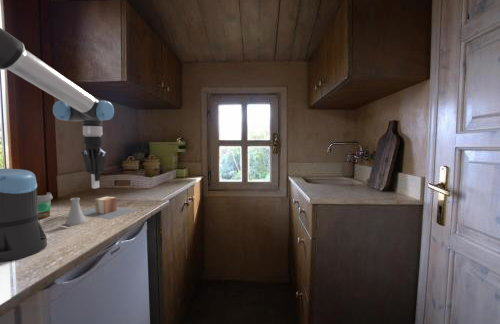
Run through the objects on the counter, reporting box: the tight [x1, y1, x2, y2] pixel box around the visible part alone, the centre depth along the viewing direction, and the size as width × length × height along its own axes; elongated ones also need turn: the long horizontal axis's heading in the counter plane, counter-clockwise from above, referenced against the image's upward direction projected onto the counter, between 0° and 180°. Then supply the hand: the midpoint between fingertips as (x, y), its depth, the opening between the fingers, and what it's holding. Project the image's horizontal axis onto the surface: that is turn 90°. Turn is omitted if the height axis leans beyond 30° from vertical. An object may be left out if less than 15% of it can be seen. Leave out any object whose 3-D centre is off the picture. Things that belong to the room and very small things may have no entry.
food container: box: [37, 191, 54, 221], centre depth 103 cm, size 12×6×10 cm, turn 168°
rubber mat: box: [82, 206, 139, 220], centre depth 114 cm, size 16×22×1 cm
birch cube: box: [94, 196, 118, 214], centre depth 114 cm, size 6×6×6 cm
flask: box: [65, 197, 87, 227], centre depth 98 cm, size 7×7×10 cm
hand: (95, 187), depth 116 cm, fingers closed
